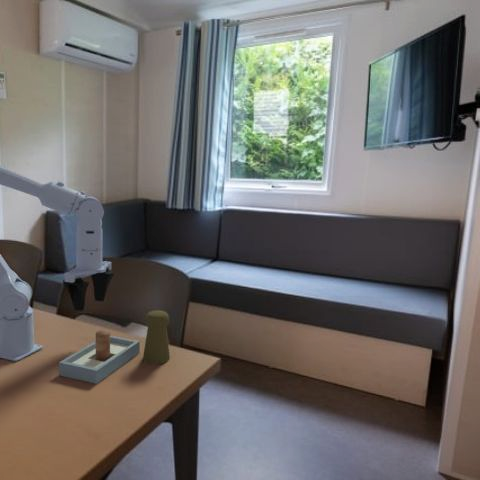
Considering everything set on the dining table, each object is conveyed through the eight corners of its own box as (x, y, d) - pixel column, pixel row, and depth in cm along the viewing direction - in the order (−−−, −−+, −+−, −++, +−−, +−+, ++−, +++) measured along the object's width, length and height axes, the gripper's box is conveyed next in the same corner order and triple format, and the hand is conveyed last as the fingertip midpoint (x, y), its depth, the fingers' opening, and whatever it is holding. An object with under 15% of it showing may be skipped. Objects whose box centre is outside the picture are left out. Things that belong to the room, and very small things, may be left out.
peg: (103, 367, 89) (103, 336, 88) (92, 364, 91) (92, 333, 89) (113, 362, 92) (113, 332, 91) (102, 359, 93) (102, 329, 92)
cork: (164, 365, 92) (165, 318, 90) (138, 362, 93) (139, 314, 91) (173, 354, 98) (175, 309, 96) (149, 351, 99) (150, 306, 97)
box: (59, 375, 85) (58, 362, 85) (106, 345, 100) (106, 334, 100) (96, 383, 82) (96, 370, 82) (139, 352, 98) (139, 341, 97)
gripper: (83, 255, 89) (83, 317, 91) (122, 245, 102) (121, 299, 105) (56, 252, 91) (57, 312, 93) (97, 242, 104) (97, 295, 107)
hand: (89, 305), depth 99 cm, fingers open, 7 cm apart
